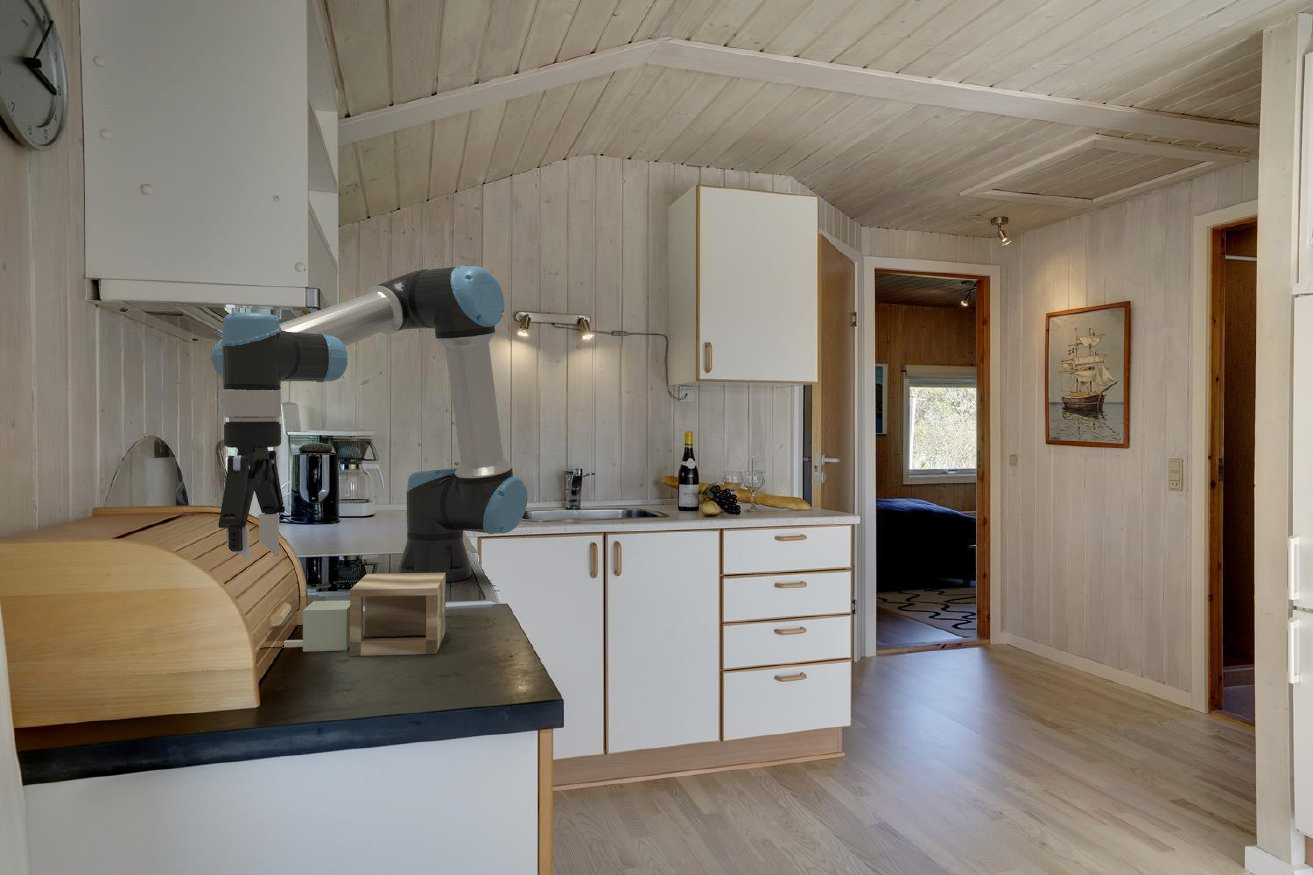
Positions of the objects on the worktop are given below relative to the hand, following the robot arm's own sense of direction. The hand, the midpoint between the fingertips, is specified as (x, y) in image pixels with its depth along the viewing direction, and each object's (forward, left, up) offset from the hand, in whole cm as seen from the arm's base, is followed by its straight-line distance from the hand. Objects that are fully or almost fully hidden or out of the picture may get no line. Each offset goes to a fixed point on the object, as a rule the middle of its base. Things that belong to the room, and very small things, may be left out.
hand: (254, 564), depth 121 cm
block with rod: (0, +6, -12) cm, 14 cm away
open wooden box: (0, +21, -12) cm, 24 cm away
